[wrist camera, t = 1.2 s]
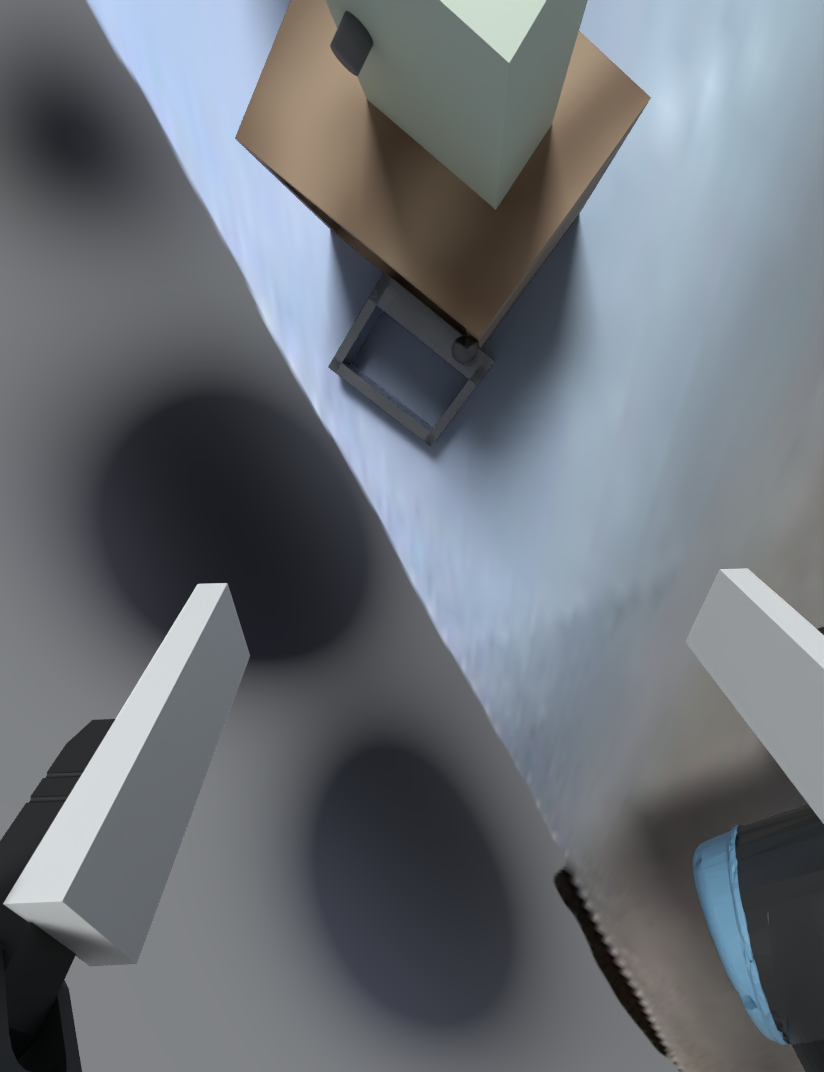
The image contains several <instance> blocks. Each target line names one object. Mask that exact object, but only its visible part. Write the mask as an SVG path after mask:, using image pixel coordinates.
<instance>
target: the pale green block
mask: <svg viewBox="0 0 824 1072" xmlns="http://www.w3.org/2000/svg"><path fill="white" fill-rule="evenodd" d="M326 3H327V5H328V7H329V10H330V12H331V15H332V17H333V19H334V22H335V24H336V27H337V31H336V33H335V35H334V37H333V40H332V42H331V44H330V48H331V50H332V52H333V53H334V55H335V56H336V58H337V59H338V60H339V61H340V62H341V64H342V65H343V66H344V67H345V68H346V69H347V70H348V71H349V72H351V73H352V74H353V75H355V76H357V77H358V79H359V82H360V84H361V87H362V89H363V91H364V94H365V96H366V99H367V100H368V101H370V102H371V103H372V104H373V105H374V106H375V107H377V108H378V109H379V110H380V111H381V112H382V113H384V114H385V115H386V116H387V117H388V118H389V119H391V120H392V121H393V122H394V123H395V124H396V125H398V126H399V127H400V128H401V129H402V130H403V131H405V132H406V133H407V134H408V135H409V136H410V137H412V138H413V139H414V140H415V141H416V142H417V143H419V144H420V145H421V146H422V147H423V148H424V149H426V150H427V151H428V152H429V153H430V154H431V155H433V156H434V157H435V158H436V159H437V160H438V161H440V162H441V163H442V164H443V165H444V166H445V167H446V168H448V169H449V170H450V171H451V172H452V173H453V174H455V175H456V176H457V177H458V178H459V179H460V180H462V181H463V182H464V183H465V184H466V185H467V186H469V187H470V188H471V189H472V190H473V191H474V192H476V193H477V194H478V195H479V196H480V197H481V198H483V199H484V200H485V201H486V202H487V203H488V204H490V205H491V206H492V207H493V208H494V209H495V210H496V209H497V207H498V206H499V204H500V203H501V201H502V200H503V198H504V197H505V195H506V194H507V192H508V191H509V189H510V188H511V186H512V184H513V183H514V181H515V180H516V178H517V177H518V175H519V174H520V172H521V171H522V169H523V168H524V166H525V165H526V163H527V162H528V160H529V158H530V157H531V155H532V154H533V152H534V151H535V149H536V148H537V146H538V145H539V143H540V142H541V140H542V139H543V137H544V136H545V134H546V132H547V131H548V129H549V128H550V126H551V125H552V123H553V119H554V116H555V112H556V109H557V105H558V102H559V98H560V95H561V91H562V88H563V84H564V81H565V77H566V74H567V70H568V67H569V63H570V60H571V56H572V53H573V49H574V46H575V42H576V39H577V35H578V32H579V28H580V25H581V21H582V18H583V14H584V11H585V7H586V4H587V0H326Z"/></svg>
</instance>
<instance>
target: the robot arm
mask: <svg viewBox="0 0 824 1072" xmlns="http://www.w3.org/2000/svg"><path fill="white" fill-rule="evenodd" d="M685 642H686V643H687V645H688V646H689V647H690V649H691V650H692V651H693V653H694V654H695V655H696V657H697V658H698V659H699V661H700V662H701V663H702V665H703V666H704V667H705V668H706V670H707V671H708V672H709V674H710V675H711V676H712V678H713V679H714V680H715V682H716V683H717V684H718V686H719V687H720V688H721V690H722V691H723V692H724V694H725V695H726V696H727V697H728V699H729V700H730V701H731V703H732V704H733V705H734V707H735V708H736V709H737V711H738V712H739V713H740V715H741V716H742V717H743V719H744V720H745V721H746V723H747V724H748V725H749V726H750V728H751V729H752V730H753V732H754V733H755V734H756V736H757V737H758V738H759V740H760V741H761V742H762V744H763V745H764V746H765V748H766V749H767V750H768V751H769V753H770V754H771V755H772V757H773V758H774V759H775V761H776V762H777V763H778V765H779V766H780V767H781V769H782V770H783V771H784V773H785V774H786V775H787V777H788V778H789V779H790V780H791V782H792V783H793V784H794V786H795V787H796V788H797V790H798V791H799V792H800V794H801V795H802V796H803V798H804V799H805V800H806V802H807V803H808V804H809V805H806V806H803V807H800V808H797V809H794V810H791V811H788V812H785V813H782V814H779V815H776V816H773V817H770V818H767V819H764V820H761V821H758V822H755V823H752V824H749V825H745V826H741V825H735V826H733V827H732V828H731V831H728V832H726V833H724V834H721V835H719V836H716V837H714V838H711V839H709V840H706V841H704V842H702V843H701V844H700V845H699V846H698V847H697V848H696V850H695V853H694V856H693V873H694V881H695V886H696V890H697V894H698V898H699V901H700V905H701V908H702V911H703V914H704V917H705V920H706V923H707V926H708V929H709V931H710V934H711V937H712V939H713V942H714V944H715V947H716V949H717V952H718V954H719V957H720V959H721V961H722V964H723V966H724V968H725V970H726V973H727V975H728V977H729V979H730V981H731V983H732V985H733V987H734V988H735V990H736V991H737V992H738V993H739V995H740V998H741V1000H742V1003H743V1005H744V1007H745V1009H746V1011H747V1013H748V1015H749V1016H750V1018H751V1020H752V1021H753V1023H754V1024H755V1025H756V1027H757V1028H758V1029H759V1030H760V1032H761V1033H762V1034H763V1035H764V1036H765V1037H766V1038H768V1039H770V1040H772V1041H775V1042H778V1043H780V1044H781V1045H785V1046H786V1045H788V1044H791V1045H792V1046H793V1048H794V1050H795V1052H796V1054H797V1056H798V1058H799V1060H800V1062H801V1064H802V1066H803V1068H804V1069H805V1071H806V1072H824V627H823V628H820V629H816V628H815V627H814V626H813V625H811V624H810V623H809V622H808V621H807V620H806V619H805V618H803V617H802V616H801V615H800V614H799V613H798V612H797V611H795V610H794V609H793V608H792V607H791V606H790V605H789V604H787V603H786V602H785V601H784V600H783V599H782V598H781V597H779V596H778V595H777V594H776V593H775V592H774V591H773V590H771V589H770V588H769V587H768V586H767V585H766V584H765V583H763V582H762V581H761V580H760V579H759V578H758V577H757V576H755V575H754V574H753V573H752V572H751V571H750V570H749V569H720V570H719V572H718V574H717V576H716V578H715V580H714V582H713V584H712V586H711V589H710V591H709V593H708V595H707V597H706V599H705V601H704V603H703V605H702V608H701V610H700V612H699V614H698V616H697V618H696V620H695V622H694V624H693V627H692V629H691V631H690V633H689V635H688V637H687V639H686V641H685ZM249 657H250V655H249V651H248V648H247V645H246V642H245V639H244V635H243V632H242V629H241V626H240V622H239V619H238V616H237V613H236V610H235V606H234V603H233V600H232V597H231V594H230V590H229V587H228V584H227V583H219V584H198V585H197V586H196V588H195V590H194V591H193V593H192V594H191V596H190V598H189V600H188V601H187V603H186V604H185V606H184V608H183V609H182V611H181V613H180V614H179V616H178V617H177V619H176V621H175V622H174V624H173V626H172V627H171V629H170V631H169V632H168V634H167V635H166V637H165V639H164V640H163V642H162V644H161V645H160V647H159V649H158V650H157V652H156V653H155V655H154V657H153V658H152V660H151V662H150V663H149V665H148V667H147V669H146V670H145V672H144V673H143V675H142V676H141V678H140V680H139V681H138V683H137V685H136V686H135V688H134V690H133V692H132V693H131V695H130V696H129V698H128V700H127V701H126V703H125V704H124V706H123V708H122V709H121V711H120V713H119V714H118V716H117V718H116V719H106V720H105V719H104V720H92V721H91V722H90V723H89V724H88V725H87V726H85V727H84V728H83V729H82V730H81V731H80V732H79V733H78V734H77V735H76V736H75V737H73V738H72V739H71V740H70V741H69V742H68V743H67V744H66V745H65V747H64V748H63V750H62V751H61V752H60V754H59V756H58V757H57V758H56V760H55V762H54V763H53V764H52V766H51V767H50V769H49V770H48V772H47V776H46V778H43V779H42V780H41V782H40V783H39V785H38V786H37V788H36V789H35V791H34V792H33V794H32V795H31V800H30V802H29V803H26V804H25V806H24V807H23V808H22V810H21V812H20V813H19V814H18V816H17V818H16V819H15V821H14V822H13V823H12V825H11V826H10V828H9V829H8V831H7V832H6V833H5V835H4V836H3V838H2V840H1V841H0V1072H82V1069H81V1063H80V1057H79V1051H78V1044H77V1038H76V1032H75V1025H74V1019H73V1013H72V1006H71V1000H70V994H69V989H68V987H67V984H66V982H65V980H64V979H65V977H66V975H67V972H68V970H69V968H70V966H71V964H72V962H73V959H74V957H75V956H77V957H78V958H79V959H81V960H82V961H84V962H85V963H86V964H88V965H89V966H104V965H125V964H137V962H138V959H139V956H140V953H141V951H142V948H143V945H144V942H145V940H146V937H147V934H148V932H149V929H150V926H151V924H152V921H153V918H154V915H155V912H156V910H157V907H158V904H159V902H160V899H161V896H162V894H163V891H164V888H165V885H166V883H167V880H168V877H169V874H170V872H171V869H172V866H173V863H174V861H175V858H176V855H177V853H178V850H179V847H180V845H181V842H182V839H183V836H184V834H185V831H186V828H187V826H188V823H189V820H190V817H191V815H192V812H193V809H194V806H195V804H196V801H197V798H198V796H199V793H200V790H201V787H202V785H203V782H204V779H205V776H206V774H207V771H208V768H209V765H210V763H211V760H212V757H213V755H214V752H215V749H216V746H217V744H218V741H219V738H220V736H221V733H222V730H223V727H224V725H225V722H226V719H227V716H228V714H229V711H230V708H231V706H232V703H233V700H234V697H235V695H236V692H237V689H238V686H239V684H240V681H241V678H242V676H243V673H244V670H245V667H246V665H247V662H248V659H249Z"/></svg>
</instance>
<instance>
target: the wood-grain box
mask: <svg viewBox="0 0 824 1072" xmlns="http://www.w3.org/2000/svg"><path fill="white" fill-rule="evenodd" d="M336 31H337V27H336V24H335V22H334V19H333V17H332V15H331V12H330V10H329V7H328V5H327V3H326V0H291V1H290V4H289V6H288V9H287V11H286V14H285V16H284V19H283V21H282V24H281V26H280V29H279V31H278V34H277V36H276V38H275V41H274V43H273V46H272V48H271V51H270V53H269V56H268V58H267V61H266V63H265V66H264V68H263V71H262V73H261V75H260V78H259V80H258V83H257V85H256V88H255V90H254V93H253V95H252V98H251V100H250V103H249V105H248V108H247V110H246V112H245V115H244V117H243V120H242V122H241V125H240V127H239V130H238V132H237V135H236V137H235V139H236V140H237V141H238V142H239V143H240V144H241V145H242V146H244V147H245V148H246V149H247V150H248V151H249V152H250V153H251V154H252V155H253V156H254V157H255V158H256V159H257V160H258V161H259V162H260V163H261V164H262V165H263V166H264V167H266V168H267V169H268V170H269V171H270V172H271V173H272V174H273V175H274V176H275V177H276V178H277V179H278V180H279V181H280V182H281V183H282V184H283V185H284V186H285V187H287V188H288V189H289V190H290V191H291V192H292V193H293V194H294V195H295V196H296V197H297V198H298V199H299V200H300V201H301V202H302V203H303V204H304V205H305V206H306V207H307V208H309V209H310V210H311V211H312V212H313V213H314V214H315V215H316V216H317V217H318V218H319V219H320V220H321V221H322V222H323V223H324V224H325V225H326V226H327V227H328V228H329V229H331V230H332V231H333V232H334V233H336V234H337V235H338V236H339V237H340V238H342V239H343V240H344V241H345V242H347V243H348V244H349V245H350V246H352V247H353V248H354V249H355V250H356V251H358V252H359V253H360V254H361V255H363V256H364V257H365V258H366V259H368V260H369V261H370V262H371V263H372V264H374V265H375V266H376V267H377V268H379V269H380V270H381V271H382V272H383V273H384V272H385V273H387V274H388V275H389V276H390V277H392V278H393V279H394V280H395V281H397V282H398V283H399V284H400V285H401V286H403V287H404V288H405V289H406V290H408V291H409V292H410V293H411V294H413V295H414V296H415V297H416V298H417V299H419V300H420V301H421V302H422V303H424V304H425V305H426V306H427V307H428V308H430V309H431V310H432V311H433V312H435V313H436V314H437V315H438V316H440V317H441V318H442V319H443V320H444V321H446V322H447V323H448V324H449V325H451V326H452V327H453V328H454V329H455V330H457V331H458V332H459V333H460V334H462V335H463V336H470V337H472V338H473V339H474V340H475V341H476V343H477V347H478V348H479V349H481V348H482V347H483V345H484V344H485V342H486V341H487V340H488V338H489V337H490V336H491V334H492V333H493V331H494V330H495V329H496V327H497V326H498V325H499V323H500V322H501V320H502V319H503V318H504V316H505V315H506V314H507V312H508V311H509V309H510V308H511V307H512V305H513V304H514V303H515V301H516V300H517V298H518V297H519V296H520V294H521V293H522V292H523V290H524V289H525V287H526V286H527V285H528V283H529V282H530V281H531V279H532V278H533V277H534V275H535V274H536V272H537V271H538V270H539V268H540V267H541V266H542V264H543V263H544V261H545V260H546V259H547V257H548V256H549V255H550V253H551V252H552V250H553V249H554V248H555V246H556V245H557V244H558V242H559V241H560V239H561V238H562V237H563V235H564V234H565V233H566V231H567V230H568V228H569V227H570V226H571V224H572V223H573V222H574V220H575V219H576V217H577V216H578V215H579V213H580V212H581V210H582V208H583V207H584V205H585V204H586V202H587V200H588V199H589V197H590V195H591V194H592V192H593V191H594V189H595V187H596V186H597V184H598V182H599V181H600V179H601V178H602V176H603V174H604V173H605V171H606V170H607V168H608V166H609V165H610V163H611V161H612V160H613V158H614V157H615V155H616V153H617V152H618V150H619V148H620V147H621V145H622V144H623V142H624V140H625V139H626V137H627V135H628V134H629V132H630V131H631V129H632V127H633V126H634V124H635V123H636V121H637V119H638V118H639V116H640V114H641V113H642V111H643V110H644V108H645V106H646V105H647V103H648V101H649V100H650V98H651V97H650V96H648V95H647V94H646V93H645V92H644V91H643V90H642V89H641V88H640V87H639V86H638V85H637V84H636V83H635V82H633V81H632V80H631V79H630V78H629V77H628V76H627V75H626V74H625V73H624V72H623V71H622V70H621V69H620V68H618V67H617V66H616V65H615V64H614V63H613V62H612V61H611V60H610V59H609V58H608V57H607V56H606V55H605V54H603V53H602V52H601V51H600V50H599V49H598V48H597V47H596V46H595V45H594V44H593V43H592V42H591V41H590V40H588V39H587V38H586V37H585V36H584V35H583V34H582V33H581V32H580V31H579V32H578V35H577V39H576V42H575V46H574V49H573V53H572V56H571V60H570V63H569V67H568V70H567V74H566V77H565V81H564V84H563V88H562V91H561V95H560V98H559V102H558V105H557V109H556V112H555V116H554V119H553V123H552V125H551V126H550V128H549V129H548V131H547V132H546V134H545V136H544V137H543V139H542V140H541V142H540V143H539V145H538V146H537V148H536V149H535V151H534V152H533V154H532V155H531V157H530V158H529V160H528V162H527V163H526V165H525V166H524V168H523V169H522V171H521V172H520V174H519V175H518V177H517V178H516V180H515V181H514V183H513V184H512V186H511V188H510V189H509V191H508V192H507V194H506V195H505V197H504V198H503V200H502V201H501V203H500V204H499V206H498V207H497V209H496V210H495V209H494V208H493V207H492V206H491V205H490V204H488V203H487V202H486V201H485V200H484V199H483V198H481V197H480V196H479V195H478V194H477V193H476V192H474V191H473V190H472V189H471V188H470V187H469V186H467V185H466V184H465V183H464V182H463V181H462V180H460V179H459V178H458V177H457V176H456V175H455V174H453V173H452V172H451V171H450V170H449V169H448V168H446V167H445V166H444V165H443V164H442V163H441V162H440V161H438V160H437V159H436V158H435V157H434V156H433V155H431V154H430V153H429V152H428V151H427V150H426V149H424V148H423V147H422V146H421V145H420V144H419V143H417V142H416V141H415V140H414V139H413V138H412V137H410V136H409V135H408V134H407V133H406V132H405V131H403V130H402V129H401V128H400V127H399V126H398V125H396V124H395V123H394V122H393V121H392V120H391V119H389V118H388V117H387V116H386V115H385V114H384V113H382V112H381V111H380V110H379V109H378V108H377V107H375V106H374V105H373V104H372V103H371V102H370V101H368V100H367V99H366V96H365V94H364V91H363V89H362V87H361V84H360V82H359V79H358V77H357V76H355V75H353V74H352V73H351V72H349V71H348V70H347V69H346V68H345V67H344V66H343V65H342V64H341V62H340V61H339V60H338V59H337V58H336V56H335V55H334V53H333V52H332V50H331V48H330V44H331V42H332V40H333V37H334V35H335V33H336Z"/></svg>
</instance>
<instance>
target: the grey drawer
mask: <svg viewBox="0 0 824 1072" xmlns="http://www.w3.org/2000/svg"><path fill="white" fill-rule="evenodd" d="M383 311H385V312H386V313H387V314H388V315H390V316H391V317H392V318H393V319H395V320H396V321H397V322H398V323H400V324H401V325H402V326H403V327H405V328H406V329H407V330H408V331H410V332H411V333H412V334H413V335H415V336H416V337H417V338H418V339H419V340H421V341H422V342H423V343H424V344H426V345H427V346H428V347H429V348H431V349H432V350H433V351H434V352H436V353H437V354H438V355H439V356H441V357H442V358H443V359H444V360H446V361H447V362H448V363H449V364H451V365H452V366H453V367H454V368H456V369H457V370H458V371H459V372H461V373H462V374H463V375H464V376H466V377H467V378H468V379H469V381H468V382H467V383H466V385H465V386H464V387H463V389H462V390H461V391H460V393H459V394H458V395H457V397H456V398H455V399H454V401H453V402H452V404H451V405H450V406H449V408H448V409H447V410H446V412H445V413H444V414H443V416H442V417H441V418H440V420H439V421H438V423H437V424H436V425H435V427H434V428H433V427H431V426H430V425H429V424H428V423H426V422H425V421H424V420H423V419H421V418H420V417H419V416H417V415H416V414H415V413H414V412H412V411H411V410H410V409H408V408H407V407H406V406H405V405H403V404H402V403H401V402H399V401H398V400H397V399H396V398H394V397H393V396H392V395H390V394H389V393H388V392H387V391H385V390H384V389H383V388H382V387H380V386H379V385H378V384H376V383H375V382H374V381H373V380H371V379H370V378H369V377H367V376H366V375H365V374H364V373H362V372H361V371H360V370H358V369H357V368H356V367H355V366H353V365H352V364H351V363H352V361H353V359H354V358H355V356H356V354H357V353H358V351H359V350H360V348H361V346H362V345H363V343H364V341H365V340H366V338H367V336H368V335H369V333H370V331H371V330H372V328H373V327H374V325H375V323H376V322H377V320H378V318H379V317H380V315H381V313H382V312H383ZM494 362H495V361H494V360H492V359H491V358H490V357H489V356H487V355H486V354H485V353H484V352H483V351H481V350H480V349H479V348H478V347H477V343H476V341H475V340H474V339H473V338H472V337H470V336H463V335H462V334H460V333H459V332H458V331H457V330H455V329H454V328H453V327H452V326H451V325H449V324H448V323H447V322H446V321H444V320H443V319H442V318H441V317H440V316H438V315H437V314H436V313H435V312H433V311H432V310H431V309H430V308H428V307H427V306H426V305H425V304H424V303H422V302H421V301H420V300H419V299H417V298H416V297H415V296H414V295H413V294H411V293H410V292H409V291H408V290H406V289H405V288H404V287H403V286H401V285H400V284H399V283H398V282H397V281H395V280H394V279H393V278H392V277H390V276H389V275H388V274H387V273H385V272H384V273H383V275H382V277H381V278H380V280H379V282H378V284H377V285H376V287H375V289H374V290H373V292H372V294H371V295H370V297H369V299H368V301H367V302H366V304H365V306H364V307H363V309H362V311H361V312H360V314H359V316H358V317H357V319H356V321H355V323H354V324H353V326H352V328H351V329H350V331H349V333H348V334H347V336H346V338H345V340H344V341H343V343H342V345H341V346H340V348H339V350H338V351H337V353H336V355H335V357H334V358H333V360H332V362H331V363H330V365H329V368H330V369H331V370H333V371H334V372H335V373H336V374H338V375H339V376H340V377H342V378H343V379H344V380H345V381H347V382H348V383H349V384H351V385H352V386H353V387H354V388H356V389H357V390H358V391H360V392H361V393H362V394H363V395H365V396H366V397H367V398H369V399H370V400H371V401H373V402H374V403H375V404H376V405H378V406H379V407H380V408H382V409H383V410H384V411H385V412H387V413H388V414H389V415H391V416H392V417H393V418H394V419H396V420H397V421H398V422H400V423H401V424H402V425H404V426H405V427H406V428H407V429H409V430H410V431H411V432H413V433H414V434H415V435H416V436H418V437H419V438H420V439H422V440H423V441H424V442H425V443H427V444H428V445H429V446H432V445H433V443H434V442H435V441H436V439H437V438H438V437H439V435H440V434H441V433H442V431H443V430H444V429H445V427H446V426H447V425H448V423H449V422H450V421H451V419H452V418H453V417H454V415H455V414H456V413H457V411H458V410H459V409H460V407H461V406H462V405H463V403H464V402H465V401H466V399H467V398H468V397H469V395H470V394H471V393H472V391H473V390H474V389H475V387H476V386H477V385H478V383H479V382H480V381H481V379H482V378H483V377H484V375H485V374H486V373H487V371H488V370H489V369H490V367H491V366H492V365H493V363H494Z"/></svg>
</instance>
